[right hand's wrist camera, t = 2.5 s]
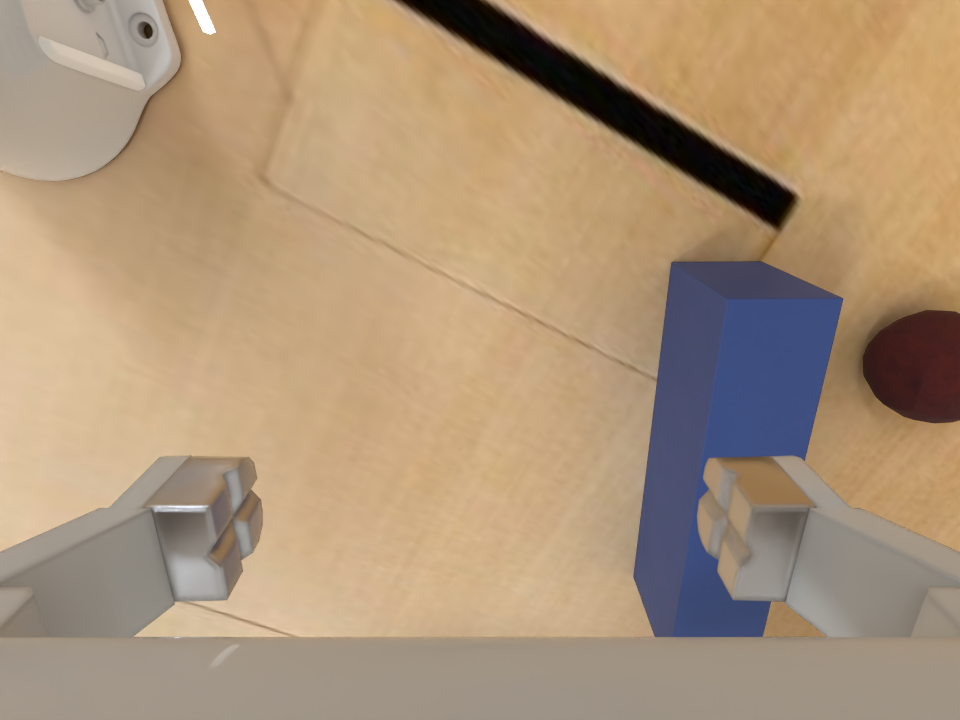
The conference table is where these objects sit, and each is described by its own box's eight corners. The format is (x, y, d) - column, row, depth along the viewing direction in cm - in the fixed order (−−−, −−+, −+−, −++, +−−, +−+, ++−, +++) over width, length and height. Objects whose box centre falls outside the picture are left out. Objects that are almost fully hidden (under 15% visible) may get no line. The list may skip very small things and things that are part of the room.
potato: (935, 392, 42) (1019, 440, 36) (831, 395, 42) (896, 443, 36) (964, 296, 40) (1060, 329, 33) (852, 299, 40) (927, 333, 33)
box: (671, 261, 39) (727, 299, 30) (761, 261, 39) (844, 298, 30) (633, 576, 49) (667, 672, 40) (705, 576, 49) (754, 671, 40)
